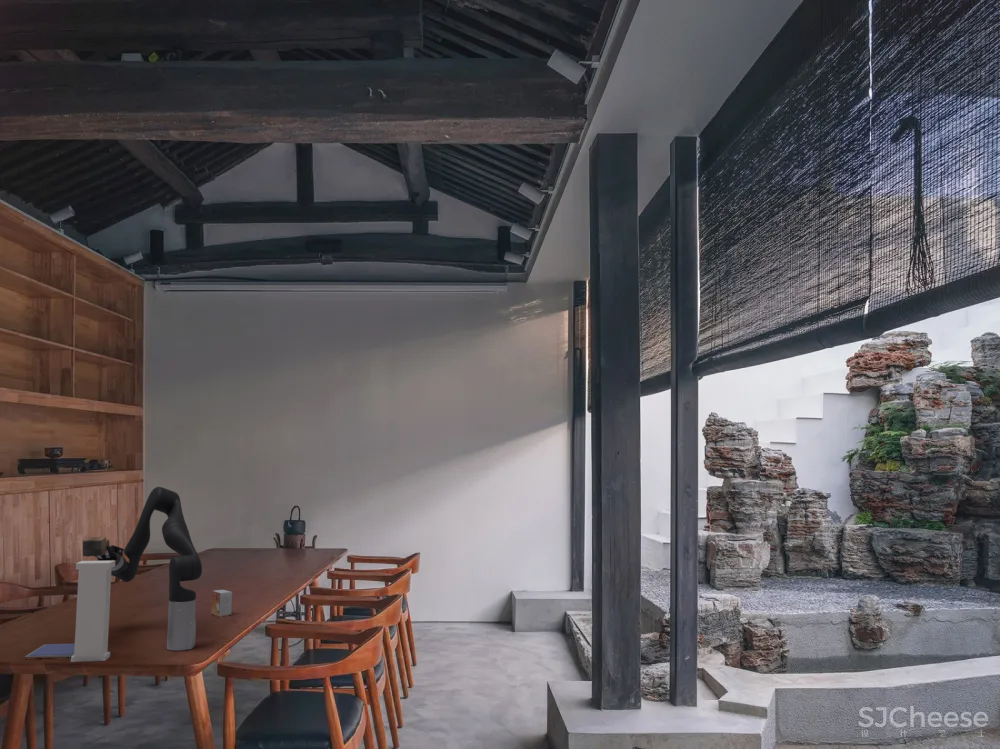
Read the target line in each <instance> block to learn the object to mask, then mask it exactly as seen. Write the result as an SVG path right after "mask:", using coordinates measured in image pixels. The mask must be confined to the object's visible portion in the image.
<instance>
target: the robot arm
mask: <svg viewBox="0 0 1000 749" xmlns="http://www.w3.org/2000/svg"><path fill="white" fill-rule="evenodd" d="M154 511H158V512H160V513H164V514H166V516H167V519H166V520H165V521H164V523H163V524H162V527H161V534H162V537H163V540H164V543H165V545H166V546H167V547H168V548H169V549H171V550H172V551H173V552H175V553H177V554H179V555H175V556H172V557H171V559H170V560H169V565H168V575H169V576H168V617H167V635H166V636H167V637H166V638H167V640H166V641H167V642H166V649H167V650H168V651H175V652H176V651H186V650H192V649H193V648H194V647H196V635H197V634H196V631H197V619H196V600H197V593H196V591H194V590H193V589H188V588H185V587H183V586H182V585H181V582H189V581H190V582H191V581H196V580H198V579H200V578H201V576H202V572H203V565H202V560H201V558H200V555H199V554H198V552H197V550H196V547H195V546H194V544H193V542H192V538H191V535H190V532H189V528H188V526H187V523H186V521H185V517H184V514H183V508H182V503H181V499H180V495H179V494H178V493H177V492H176V491H173V490H170V489H168V488H165V487H162V486H156V487H154V488H153V489H152V490H151V492H150V493H149V494H148V497H147V499H146V502H145V504H144V506H143V509H142V511H141V513H140V516H139V519H138V522H137V524H136V527H135V529H134V531H133V533H132V535H131V536H130V538H129V540H128V542H127V544H126V546H125V548H123V547H120V546H117V545H114V544H112V545H110V544H109V545H107V544H106V553H105V554H103V555H102V556H94V558H97V561H115V567H112V570H111V576H113V577H115V578H117V579H119V580H120V581H122V582H123V583H124V582H125V583H129V582H131V581H132V580H134V579H135V578H136V576H137V573H138V569H139V566H140V562H141V558H142V556H143V554H144V552H145V550H146V548H147V546H148V544H150V540H151V519H152V515H153V513H154ZM124 555H125V557H127V559H128V560H127V559H126V558H125V557H124ZM86 557H90V556H86Z"/></svg>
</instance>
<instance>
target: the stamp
mask: <svg viewBox="0 0 1000 749" xmlns="http://www.w3.org/2000/svg"><path fill="white" fill-rule="evenodd" d="M106 544H107V545H109V546H110V539H107V537H106V536H98V537H97V536H95V537H93V536H92V537H91V536H90V537H89V536H88V537H86V538H85V539H83V540H82V557H87V556H89V557H95V556H102V555H103V554H105V553H106Z"/></svg>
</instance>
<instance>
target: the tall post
mask: <svg viewBox="0 0 1000 749" xmlns="http://www.w3.org/2000/svg"><path fill="white" fill-rule="evenodd" d="M112 567H115V561H98V560H81V561H78V562H76V563H75V570H78V578H77V594H76V595H77V599H76V615H75V632H74V633H75V634H74V644H75V649H74V655H73V656H72V657H71V658H70V662H71V663H77V662H78V663H79V662H102V661H103V662H105V661H106V660H108V659H109V658H110V657H111V651H108V649H109V648H108V646H109V626H110V608H111V607H110V604H111V587H112V586H111V584H112V574H111V570H112Z"/></svg>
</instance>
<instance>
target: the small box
mask: <svg viewBox="0 0 1000 749" xmlns="http://www.w3.org/2000/svg"><path fill="white" fill-rule="evenodd" d="M211 593H212V594H211V608H210V609H211V611H210V615H211V614H214V615H217V616H223V615H229V614H231V615H232V605H233V603H232V601H233V600H232V599H233V591H230V590H226V589H217V590H212V592H211ZM214 615H213V616H214ZM217 616H216V617H217Z"/></svg>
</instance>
